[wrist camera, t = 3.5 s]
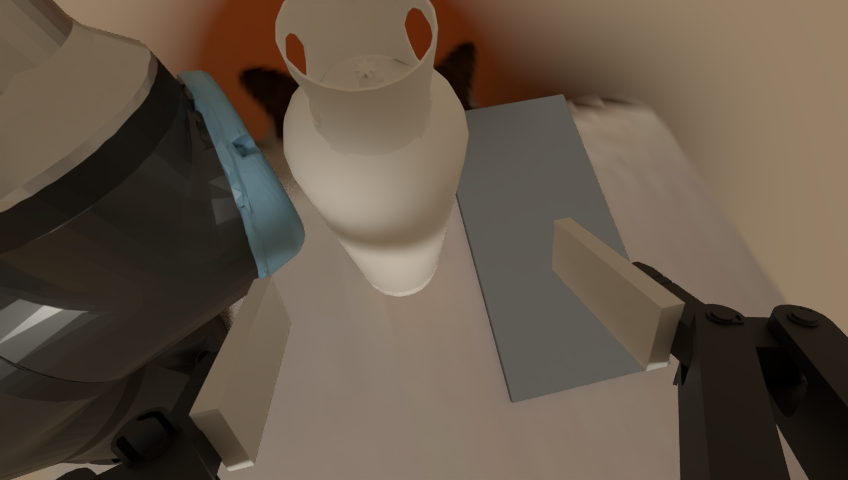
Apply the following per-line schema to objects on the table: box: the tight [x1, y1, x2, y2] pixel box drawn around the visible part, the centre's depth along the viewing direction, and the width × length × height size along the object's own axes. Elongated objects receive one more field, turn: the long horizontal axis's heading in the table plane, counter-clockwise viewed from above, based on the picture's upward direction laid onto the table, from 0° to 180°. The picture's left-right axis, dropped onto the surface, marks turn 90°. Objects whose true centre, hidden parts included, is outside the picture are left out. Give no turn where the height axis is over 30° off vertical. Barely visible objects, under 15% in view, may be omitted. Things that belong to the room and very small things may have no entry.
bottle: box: [275, 0, 469, 297], centre depth 24 cm, size 8×8×28 cm
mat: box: [456, 94, 671, 403], centre depth 38 cm, size 32×16×1 cm, turn 12°
